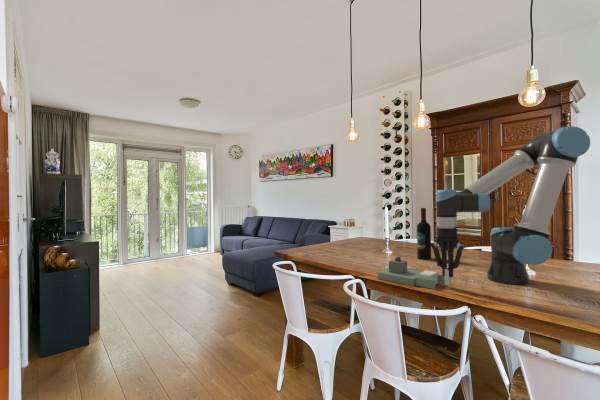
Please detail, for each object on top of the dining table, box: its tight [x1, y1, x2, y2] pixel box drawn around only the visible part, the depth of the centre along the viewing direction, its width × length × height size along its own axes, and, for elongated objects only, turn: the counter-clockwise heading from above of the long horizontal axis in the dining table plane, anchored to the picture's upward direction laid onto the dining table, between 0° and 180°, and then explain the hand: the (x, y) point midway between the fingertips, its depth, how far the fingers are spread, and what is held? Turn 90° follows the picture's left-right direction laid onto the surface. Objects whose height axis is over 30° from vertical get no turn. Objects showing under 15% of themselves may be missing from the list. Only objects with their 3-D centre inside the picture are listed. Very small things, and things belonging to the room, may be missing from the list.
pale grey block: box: [419, 269, 439, 286], centre depth 128 cm, size 5×7×5 cm
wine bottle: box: [416, 207, 432, 261], centre depth 177 cm, size 8×8×30 cm
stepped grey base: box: [377, 255, 445, 290], centre depth 134 cm, size 25×14×10 cm, turn 45°
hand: (448, 284), depth 123 cm, fingers closed
